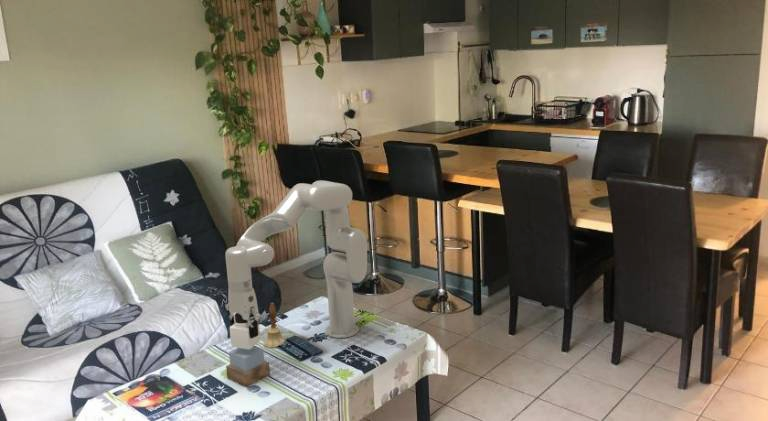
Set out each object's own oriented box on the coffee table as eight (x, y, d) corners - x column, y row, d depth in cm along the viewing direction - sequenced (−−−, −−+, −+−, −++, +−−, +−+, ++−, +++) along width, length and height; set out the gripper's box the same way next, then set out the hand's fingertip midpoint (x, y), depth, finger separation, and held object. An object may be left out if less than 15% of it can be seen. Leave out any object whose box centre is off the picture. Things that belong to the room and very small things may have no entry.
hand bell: (270, 337, 250) (267, 298, 246) (289, 339, 248) (286, 300, 244) (259, 346, 243) (255, 306, 239) (279, 349, 240) (276, 309, 236)
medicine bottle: (261, 340, 221) (257, 307, 217) (250, 349, 214) (246, 316, 211) (242, 337, 223) (239, 305, 220) (231, 347, 216) (227, 313, 213)
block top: (249, 356, 225) (247, 343, 224) (264, 362, 220) (263, 349, 219) (230, 365, 219) (228, 351, 218) (245, 372, 215) (244, 358, 213)
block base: (250, 367, 228) (249, 354, 227) (269, 375, 222) (268, 362, 221) (227, 379, 221) (226, 365, 219) (246, 388, 214) (245, 374, 213)
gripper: (266, 286, 210) (271, 335, 215) (232, 275, 221) (237, 323, 226) (248, 293, 205) (253, 344, 209) (214, 282, 216) (219, 330, 220)
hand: (245, 333), depth 217 cm, fingers closed on medicine bottle, 8 cm apart
